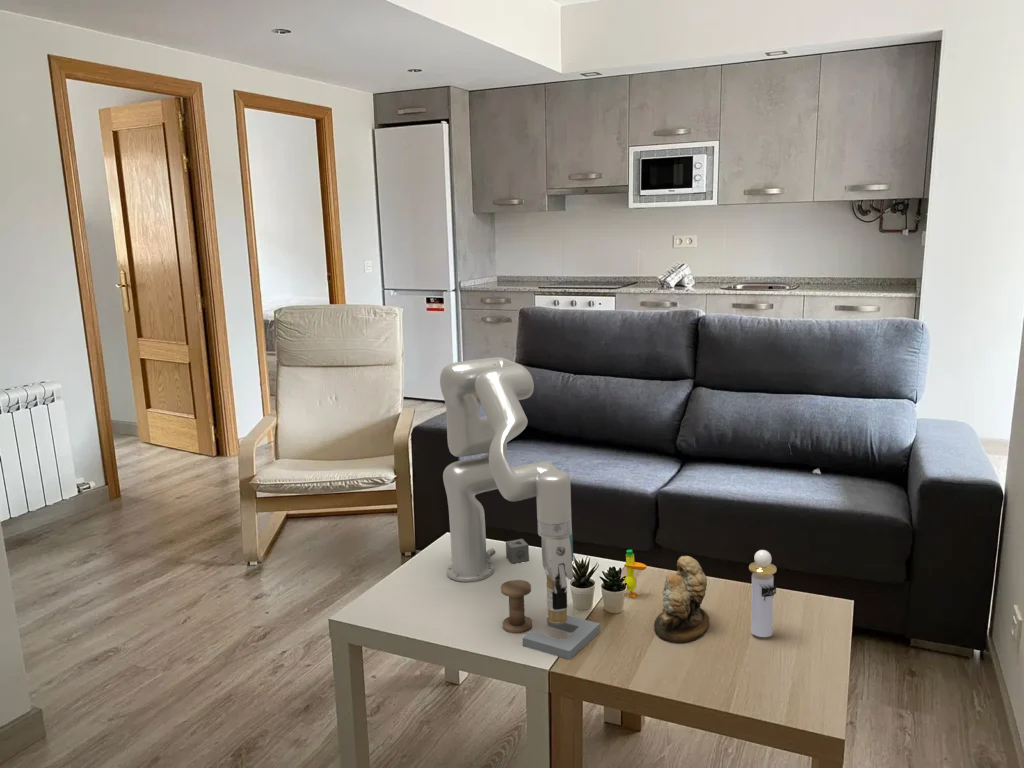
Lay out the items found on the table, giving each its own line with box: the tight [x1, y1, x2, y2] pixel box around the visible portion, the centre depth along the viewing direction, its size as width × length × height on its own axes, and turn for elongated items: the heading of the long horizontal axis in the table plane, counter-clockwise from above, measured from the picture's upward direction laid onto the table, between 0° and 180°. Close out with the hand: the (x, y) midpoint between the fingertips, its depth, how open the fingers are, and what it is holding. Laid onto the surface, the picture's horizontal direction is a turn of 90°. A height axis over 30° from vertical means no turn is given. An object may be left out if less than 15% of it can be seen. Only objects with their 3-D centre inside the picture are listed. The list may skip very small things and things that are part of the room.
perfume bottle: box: [748, 549, 777, 638], centre depth 174 cm, size 6×6×20 cm
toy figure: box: [623, 549, 648, 599], centre depth 196 cm, size 7×4×12 cm, turn 63°
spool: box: [500, 579, 534, 635], centre depth 184 cm, size 7×7×10 cm
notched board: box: [522, 614, 601, 661], centre depth 178 cm, size 14×12×2 cm
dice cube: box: [505, 538, 530, 565], centre depth 222 cm, size 5×5×5 cm
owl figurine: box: [653, 555, 710, 645], centre depth 180 cm, size 18×12×17 cm, turn 153°
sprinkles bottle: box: [545, 568, 568, 625], centre depth 177 cm, size 5×5×14 cm
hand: (557, 602), depth 178 cm, fingers closed on sprinkles bottle, 4 cm apart
